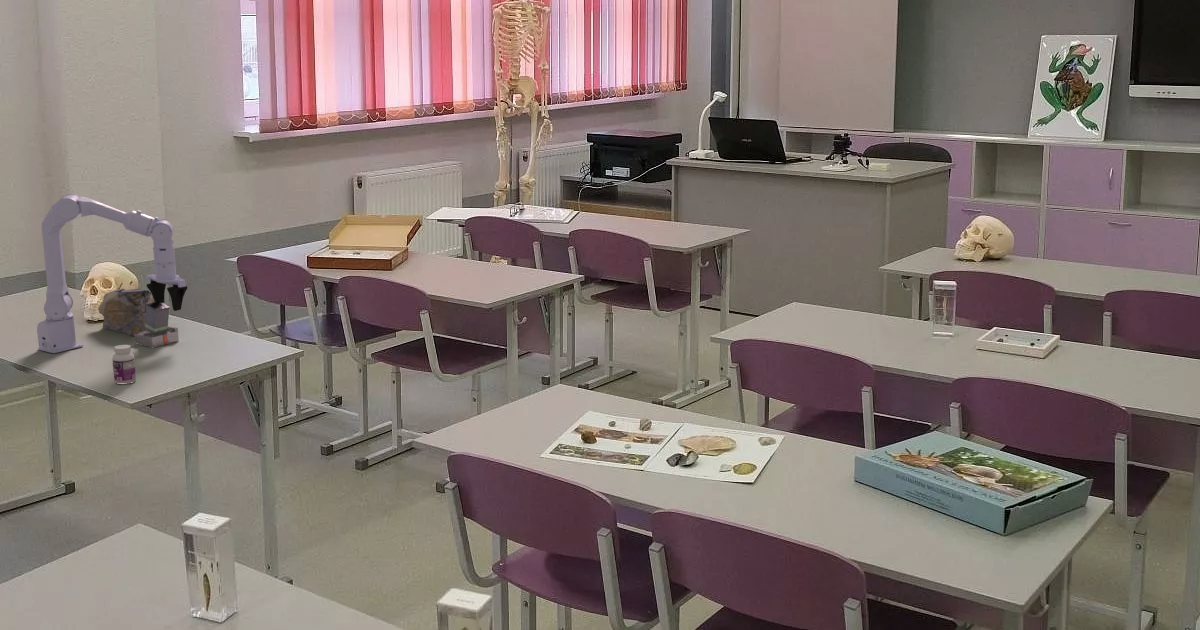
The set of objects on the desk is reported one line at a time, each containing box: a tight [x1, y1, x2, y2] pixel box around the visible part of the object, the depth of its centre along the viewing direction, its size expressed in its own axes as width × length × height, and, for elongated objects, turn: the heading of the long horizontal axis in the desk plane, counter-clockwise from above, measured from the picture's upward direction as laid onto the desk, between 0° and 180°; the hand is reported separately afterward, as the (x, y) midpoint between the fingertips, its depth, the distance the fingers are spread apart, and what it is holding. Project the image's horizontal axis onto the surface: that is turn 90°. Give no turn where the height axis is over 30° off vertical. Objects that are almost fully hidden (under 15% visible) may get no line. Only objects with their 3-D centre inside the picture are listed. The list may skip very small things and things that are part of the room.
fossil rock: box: [97, 288, 155, 337], centre depth 366 cm, size 20×9×15 cm, turn 54°
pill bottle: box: [111, 344, 137, 384], centre depth 313 cm, size 5×5×10 cm
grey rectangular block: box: [145, 301, 171, 335], centre depth 351 cm, size 5×5×8 cm
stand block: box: [133, 325, 180, 348], centre depth 353 cm, size 9×8×4 cm
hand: (168, 308), depth 351 cm, fingers open, 7 cm apart
